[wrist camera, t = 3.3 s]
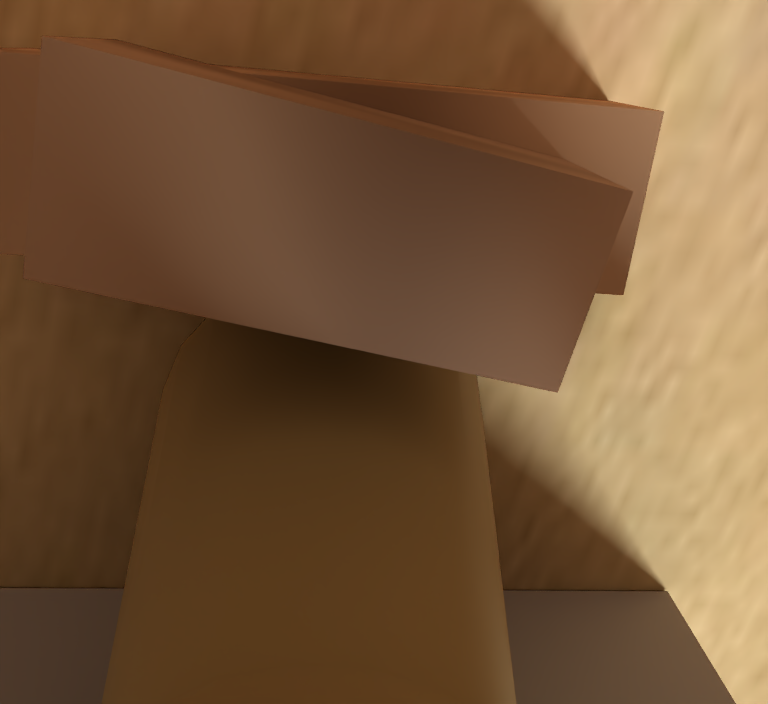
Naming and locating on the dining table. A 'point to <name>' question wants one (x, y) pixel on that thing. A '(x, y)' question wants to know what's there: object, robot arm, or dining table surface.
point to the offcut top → (310, 214)
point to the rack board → (525, 630)
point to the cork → (312, 533)
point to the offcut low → (413, 100)
